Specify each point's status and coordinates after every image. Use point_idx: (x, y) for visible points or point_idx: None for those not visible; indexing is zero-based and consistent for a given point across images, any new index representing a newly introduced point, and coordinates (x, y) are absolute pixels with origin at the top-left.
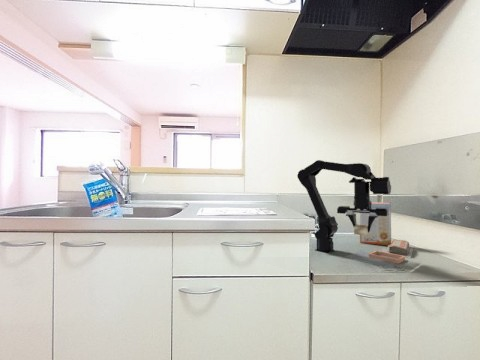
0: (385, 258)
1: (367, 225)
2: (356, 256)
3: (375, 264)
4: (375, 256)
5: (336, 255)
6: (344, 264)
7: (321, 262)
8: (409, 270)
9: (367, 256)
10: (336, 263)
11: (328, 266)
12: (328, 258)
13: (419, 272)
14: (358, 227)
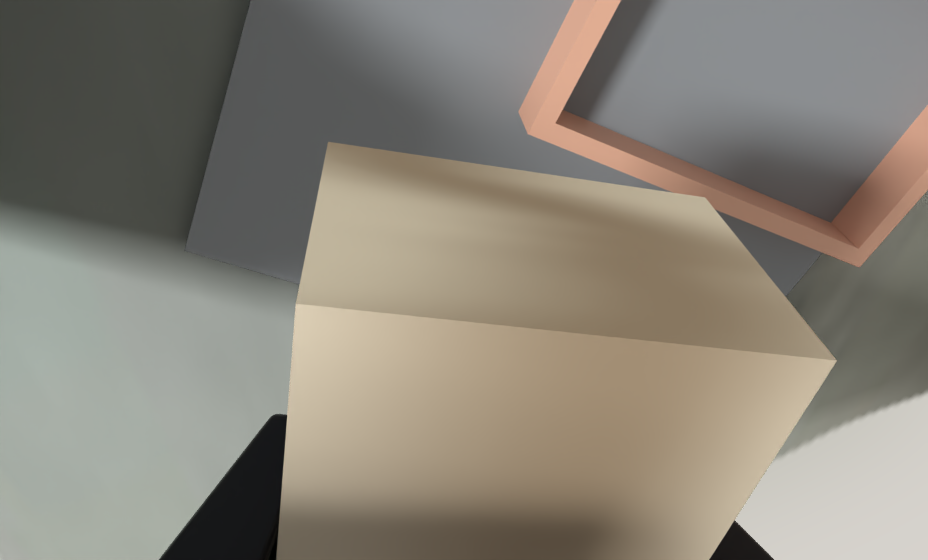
0: (729, 208)
1: (689, 498)
2: (342, 135)
3: None
4: (614, 163)
5: (39, 148)
6: None
7: (31, 482)
8: (854, 359)
9: (504, 61)
10: (180, 451)
11: (146, 542)
12: (17, 334)
13: (918, 374)
14: None
